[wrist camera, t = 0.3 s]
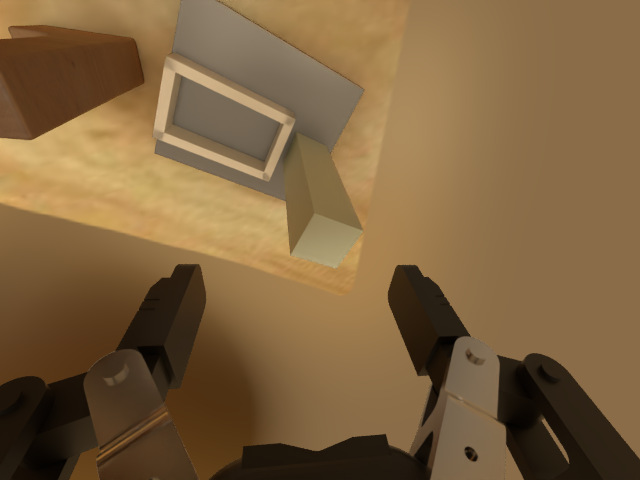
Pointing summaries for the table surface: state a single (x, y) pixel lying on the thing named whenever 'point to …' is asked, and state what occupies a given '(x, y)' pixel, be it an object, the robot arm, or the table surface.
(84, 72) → the wooden block
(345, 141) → the table surface
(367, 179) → the table surface
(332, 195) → the sage pillar
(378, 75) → the table surface
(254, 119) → the base plate
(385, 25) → the table surface
